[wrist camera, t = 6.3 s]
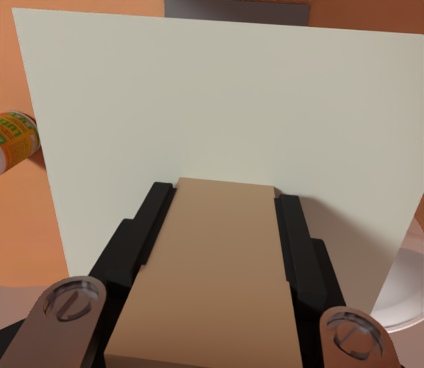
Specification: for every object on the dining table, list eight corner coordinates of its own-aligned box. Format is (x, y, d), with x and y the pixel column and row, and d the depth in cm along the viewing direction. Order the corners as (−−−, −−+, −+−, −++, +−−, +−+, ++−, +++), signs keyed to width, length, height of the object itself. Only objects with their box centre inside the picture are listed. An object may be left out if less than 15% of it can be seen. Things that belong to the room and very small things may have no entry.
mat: (165, -4, 28) (164, -4, 28) (309, 4, 27) (310, 4, 27) (167, 132, 34) (166, 133, 34) (285, 142, 34) (285, 143, 33)
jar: (305, 239, 40) (335, 350, 27) (267, 177, 36) (280, 270, 23) (389, 205, 36) (472, 313, 23) (357, 133, 33) (434, 212, 19)
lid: (34, 8, 9) (-431, -19, 3) (465, 36, 8) (1104, 84, 2) (88, 299, 15) (-27, 502, 8) (347, 331, 14) (427, 578, 8)
